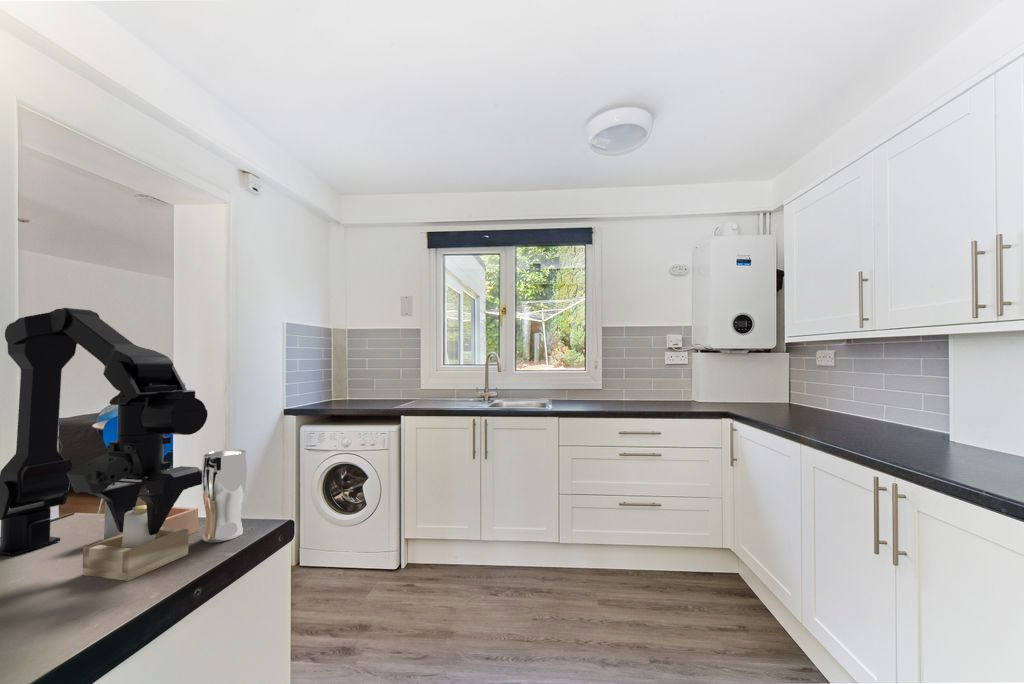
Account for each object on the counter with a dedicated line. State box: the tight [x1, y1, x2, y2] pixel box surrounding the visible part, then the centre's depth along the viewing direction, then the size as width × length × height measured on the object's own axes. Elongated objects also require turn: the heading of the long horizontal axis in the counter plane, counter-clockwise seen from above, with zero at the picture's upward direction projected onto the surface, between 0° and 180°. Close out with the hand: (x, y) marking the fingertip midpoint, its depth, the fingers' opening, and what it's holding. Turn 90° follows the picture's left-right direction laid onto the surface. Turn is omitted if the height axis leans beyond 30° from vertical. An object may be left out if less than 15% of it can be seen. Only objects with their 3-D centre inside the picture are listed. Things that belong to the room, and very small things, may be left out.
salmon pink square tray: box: [118, 506, 199, 535], centre depth 79 cm, size 8×8×4 cm
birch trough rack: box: [82, 527, 190, 582], centre depth 68 cm, size 9×9×4 cm
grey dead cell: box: [103, 501, 118, 541], centre depth 79 cm, size 4×4×8 cm
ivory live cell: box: [122, 504, 156, 548], centre depth 68 cm, size 4×4×8 cm
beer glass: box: [200, 449, 248, 544], centre depth 79 cm, size 7×7×15 cm
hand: (138, 532), depth 68 cm, fingers open, 6 cm apart
